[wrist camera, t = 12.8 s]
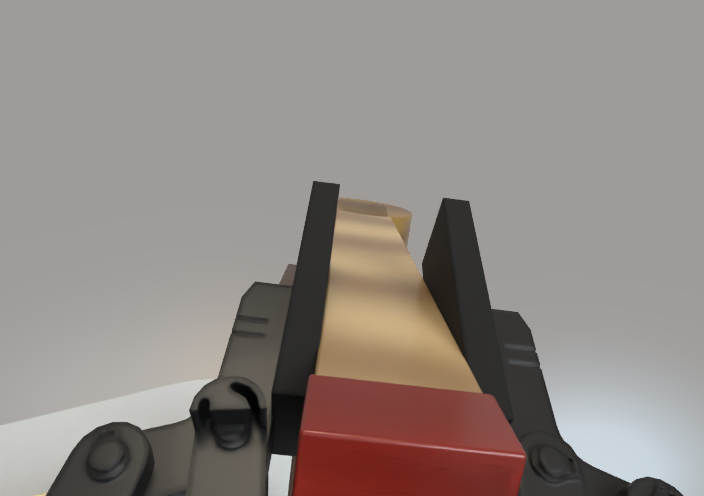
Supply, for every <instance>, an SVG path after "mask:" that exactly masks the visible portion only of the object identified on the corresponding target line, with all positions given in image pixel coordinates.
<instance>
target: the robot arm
mask: <svg viewBox="0 0 704 496" xmlns="http://www.w3.org/2000/svg"><path fill="white" fill-rule="evenodd" d="M339 187H340V184H333V183H324V182H318V181H313V186H312V191H311V196H310V201H309V206H308V211H307V216H306V221H305V226H304V231H303V236H302V241H301V246H300V251H299V256H298V262H297V266H296V271H295V276H294V281H293V286H287V285H278V284H270V283H261V282H254V284H253V285H252V286H251V287H250V288H249V289H248V291H247V292H246V293H245V294H244V295H243V296H242V298H241V302H240V305H239V308H238V312H237V315H236V319H235V322H234V325H233V328H232V334H231V335H230V338H229V342H228V345H227V348H226V352H225V356H224V359H223V362H222V365H221V369H220V372H219V376H218V378H217V379H215V380H213V381H211V382H210V383H208V384H206V385H204V387H203V388H202V389H201V390H200V391H199V392H198V393H197V394H196V396H195V397H194V399H193V402H192V405H191V407H190V410H189V411H190V415H191V417H189V418H187V419H186V420H183V421H180V422H177V423H174V424H169V425H164V426H160V427H155V428H150V429H146V430H141V429H140V428H139V427H137V426H135V425H132V424H130V423H128V422H112V423H109V424H106V425H103V426H100V427H97V428H96V429H94V430H93V431H91V432H90V433H89V434H87V435H86V436H84V437H83V438H82V439H81V440H80V442H79V443H78V444H77V445H76V447H75V448H74V449H73V450H72V452H71V453H70V455H69V457H68V459H67V460H66V462H65V464H64V465H63V467H62V469H61V471H60V472H59V474H58V476H57V477H56V479H55V481H54V483H53V484H52V486H51V488H50V489H49V491H48V493H47V494H46V496H268V471H269V465H270V460H271V454H278V455H288V456H296V455H297V446H298V438H299V430H300V424H301V418H302V412H303V405H304V399H305V393H306V387H307V380H308V377H309V376H310V375H312V374H315V367H316V359H317V352H318V348H319V345H320V338H321V330H322V322H323V315H324V307H325V299H326V292H327V284H328V276H329V269H330V261H331V253H332V245H333V236H334V228H335V220H336V212H337V204H338V195H339ZM422 269H423V280H424V282H425V284H426V286H427V288H428V289H429V291H430V293H431V295H432V297H433V299H434V301H435V303H436V305H437V307H438V309H439V310H440V312H441V314H442V316H443V318H444V320H445V322H446V324H447V326H448V328H449V330H450V331H451V333H452V335H453V337H454V339H455V341H456V343H457V345H458V347H459V349H460V350H461V352H462V354H463V356H464V358H465V360H466V362H467V364H468V366H469V368H470V370H471V371H472V373H473V375H474V377H475V379H476V381H477V383H478V385H479V387H480V389H481V391H482V392H483V394H490V395H493V396H494V397H495V399H496V401H497V403H498V405H499V406H500V408H501V410H502V412H503V414H504V415H505V417H506V419H507V421H508V422H509V424H510V426H511V428H512V430H513V431H514V433H515V435H516V437H517V439H518V440H519V442H520V444H521V446H522V447H523V449H524V451H525V453H526V457H527V458H526V463H525V467H524V471H523V475H522V479H521V483H520V487H519V490H518V494H517V496H683V495H682V494H681V493H680V492H679V491H678V490H677V489H676V488H675V487H673V486H671V485H669V484H668V483H666V482H664V481H662V480H660V479H655V478H651V477H644V478H640V479H636V480H635V481H633V482H632V483H629V482H626V481H624V480H622V479H620V478H617V477H615V476H613V475H610V474H608V473H606V472H604V471H602V470H599V469H597V468H595V467H593V466H591V465H589V464H588V463H586V462H584V461H583V460H582V459H580V458H579V457H578V456H577V455H576V453H575V452H574V450H573V449H572V447H571V446H570V445H569V444H567V443H566V442H565V441H564V440H563V438H562V437H561V435H560V433H559V430H558V428H557V425H556V421H555V418H554V414H553V411H552V407H551V403H550V399H549V396H548V392H547V389H546V385H545V381H544V378H543V374H542V370H541V369H540V367H539V366H540V363H539V359H538V356H537V353H536V352H535V350H536V348H535V345H534V341H533V337H532V334H531V330H530V329H529V327H528V326H527V324H526V323H525V322H524V320H523V319H522V317H521V316H520V314H518V312H512V311H504V310H496V309H491V305H490V300H489V295H488V290H487V286H486V281H485V276H484V271H483V266H482V261H481V257H480V252H479V247H478V242H477V237H476V232H475V228H474V223H473V218H472V213H471V209H470V203H469V201H464V200H455V199H449V198H443V200H442V203H441V206H440V209H439V212H438V216H437V219H436V222H435V225H434V228H433V231H432V234H431V237H430V240H429V243H428V247H427V250H426V253H425V256H424V259H423V262H422Z"/></svg>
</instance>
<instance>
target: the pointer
mask: <svg viewBox="0 0 704 496" xmlns="http://www.w3.org/2000/svg"><path fill="white" fill-rule="evenodd" d="M411 218H412V213H411V212H409V211H408V210H406V209H403V208H400V207H397V206H392V205H389V204H384V203H379V202H373V201H367V200H359V199H350V198H338V204H337V212H336V220H335V228H334V236H333V245H332V253H331V261H330V269H329V276H328V284H327V292H326V299H325V307H324V315H323V322H322V330H321V338H320V345H319V348H318V352H317V359H316V367H315V374H312V375H310V376H309V377H308V380H307V387H306V393H305V399H304V405H303V412H302V418H301V424H300V430H299V438H298V446H297V455H296V463H295V472H294V480H293V489H292V496H517V494H518V490H519V487H520V483H521V479H522V475H523V471H524V467H525V463H526V458H527V457H526V453H525V451H524V449H523V447H522V446H521V444H520V442H519V440H518V439H517V437H516V435H515V433H514V431H513V430H512V428H511V426H510V424H509V422H508V421H507V419H506V417H505V415H504V414H503V412H502V410H501V408H500V406H499V405H498V403H497V401H496V399H495V397H494V396H493V395H490V394H483V392H482V391H481V389H480V387H479V385H478V383H477V381H476V379H475V377H474V375H473V373H472V371H471V370H470V368H469V366H468V364H467V362H466V360H465V358H464V356H463V354H462V352H461V350H460V349H459V347H458V345H457V343H456V341H455V339H454V337H453V335H452V333H451V331H450V330H449V328H448V326H447V324H446V322H445V320H444V318H443V316H442V314H441V312H440V310H439V309H438V307H437V305H436V303H435V301H434V299H433V297H432V295H431V293H430V291H429V289H428V288H427V286H426V284H425V282H424V280H423V278H422V276H421V274H420V272H419V270H418V268H417V267H416V265H415V263H414V261H413V259H412V257H411V255H410V253H409V251H408V249H407V243H408V237H409V231H410V224H411Z"/></svg>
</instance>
